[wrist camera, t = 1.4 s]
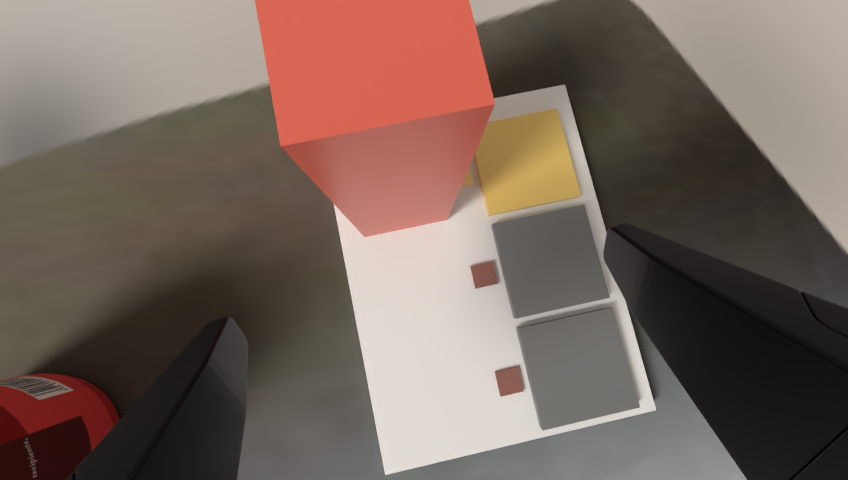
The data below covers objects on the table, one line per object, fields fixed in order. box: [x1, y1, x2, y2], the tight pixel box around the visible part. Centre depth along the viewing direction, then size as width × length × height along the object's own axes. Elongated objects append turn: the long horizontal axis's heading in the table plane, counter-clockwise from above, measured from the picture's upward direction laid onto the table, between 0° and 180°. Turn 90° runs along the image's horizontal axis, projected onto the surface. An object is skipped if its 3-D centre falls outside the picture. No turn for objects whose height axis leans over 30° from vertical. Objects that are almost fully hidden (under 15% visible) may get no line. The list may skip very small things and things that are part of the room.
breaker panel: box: [334, 85, 656, 475], centre depth 21 cm, size 18×14×1 cm
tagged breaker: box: [474, 108, 581, 217], centre depth 21 cm, size 5×5×1 cm
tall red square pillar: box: [255, 0, 495, 237], centre depth 15 cm, size 4×4×13 cm
